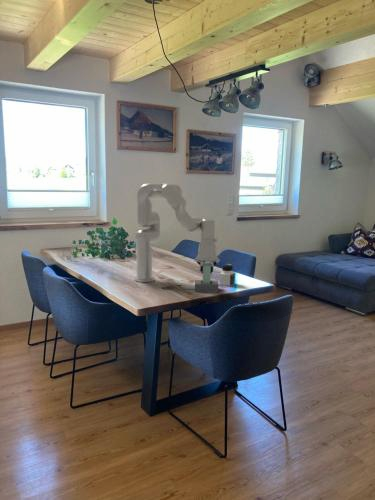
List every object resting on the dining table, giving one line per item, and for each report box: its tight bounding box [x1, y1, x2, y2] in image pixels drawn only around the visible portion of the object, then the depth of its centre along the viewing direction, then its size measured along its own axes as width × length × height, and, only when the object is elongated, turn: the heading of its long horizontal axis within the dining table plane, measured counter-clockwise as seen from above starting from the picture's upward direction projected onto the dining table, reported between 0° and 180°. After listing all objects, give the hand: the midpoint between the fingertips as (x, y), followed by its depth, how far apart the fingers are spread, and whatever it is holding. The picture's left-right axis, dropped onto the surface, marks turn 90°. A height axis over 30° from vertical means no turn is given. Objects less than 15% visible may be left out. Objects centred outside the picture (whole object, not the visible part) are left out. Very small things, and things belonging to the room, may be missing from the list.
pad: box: [182, 284, 195, 290], centre depth 230 cm, size 7×7×1 cm
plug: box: [202, 262, 211, 284], centre depth 225 cm, size 5×5×12 cm
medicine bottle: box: [218, 263, 236, 287], centre depth 238 cm, size 7×7×12 cm
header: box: [194, 279, 219, 293], centre depth 226 cm, size 9×13×4 cm
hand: (206, 272), depth 224 cm, fingers closed on plug, 4 cm apart
